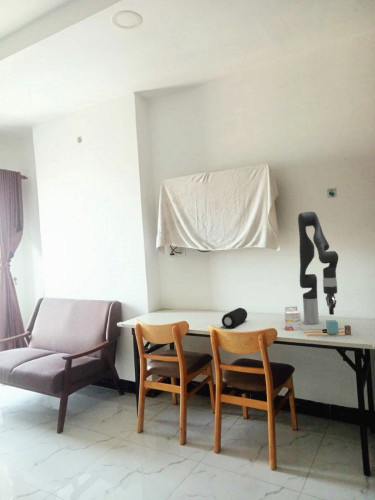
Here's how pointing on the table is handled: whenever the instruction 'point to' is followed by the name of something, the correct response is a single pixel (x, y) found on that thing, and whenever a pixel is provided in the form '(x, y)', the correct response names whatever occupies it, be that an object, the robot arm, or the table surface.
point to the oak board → (319, 333)
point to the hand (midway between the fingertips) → (331, 314)
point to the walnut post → (347, 329)
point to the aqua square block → (332, 326)
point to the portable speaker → (234, 317)
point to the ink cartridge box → (292, 319)
